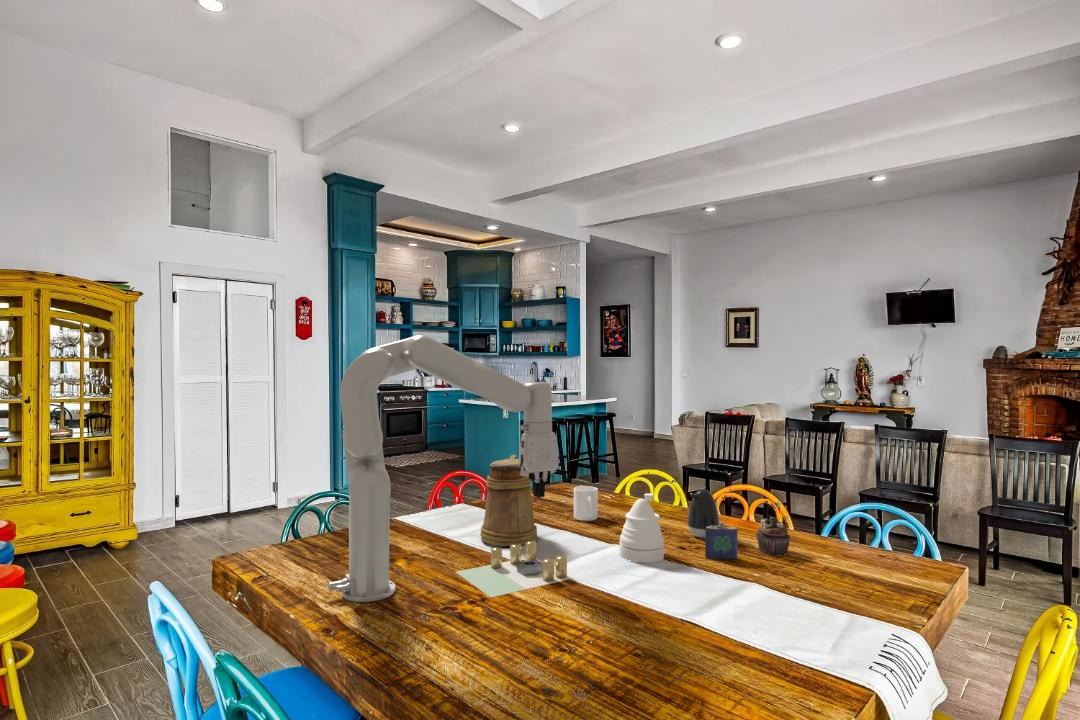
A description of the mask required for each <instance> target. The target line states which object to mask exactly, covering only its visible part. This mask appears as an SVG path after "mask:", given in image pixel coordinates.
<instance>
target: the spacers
mask: <svg viewBox="0 0 1080 720" xmlns="http://www.w3.org/2000/svg"><path fill="white" fill-rule="evenodd" d="M536 541H537V540H536ZM536 541H527V542H526V544H525V558H526V559H537V542H536ZM521 559H522V545H521V544H511V545H510V546H509V561H510V564H511V565H517V563H518V562H520V561H521ZM502 562H503V547H501V546H500V547H499V546H495V547H494V546H493V547H491V548H490V565H491V568H492V569H500V568H502ZM542 562H543V576H542V580H543V581H546V582H551V581H554V568H555V577H556V578H559V579H564V578H566V577H567V575H568V557H567V556H566V555H556V556H555V559H553V558H549V557H546V558H543V559H542Z"/></svg>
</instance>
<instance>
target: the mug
mask: <svg viewBox="0 0 1080 720" xmlns="http://www.w3.org/2000/svg"><path fill="white" fill-rule="evenodd" d="M598 500H599V489H598V487H595V486H591V485H590V486H589V485H579V486H575V487H573V518H574V519H575V520H577V521H582V522H591V521H595V520H597V519H598V516H599V512H598V511H599V509H598V508H599V506H598V505H599V501H598Z"/></svg>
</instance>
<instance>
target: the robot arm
mask: <svg viewBox="0 0 1080 720" xmlns="http://www.w3.org/2000/svg"><path fill="white" fill-rule="evenodd" d="M414 370H419V371H421V372H423V373H424V374H428V375H429V376H431V377H434V378H435V379H438V380H440V381H442V382H444V383H446V384H447V385H450V386H451V387H454V388H456V389H459V390H462V391H463V392H465V393H466V392H467V393H470V394H473V395H476V396H479V397H481V398H483V399H486V400H487V401H490V402H492V403H494V404H495V405H496V406H497V407H498V408H500V409H502V410H506V411H507V412H508V411H509V412H512V413H521V412H523V424H521V425H520V426H519V428H520V429H519V430H520V431H523V433H521V436H520V437H521V438H520V443H519V444H520V445H519V452H518V453H519V455H518V457H519V458H518V459H519V465H520V469H521V472H520V475H521V476H524V477H528V478H529V479H530V480H531V487H532V488H531V489H532V491H531V492H532V494H533V495H532V496H533V497H536V498H544V497H545V493H546V482H547V480H548V478H549V476H550V475H552V474H555V473H556V472H557V469H558V468H559V463H560V462H559V461H560V460H559V449H558V443H557V441H558V440H557V437H556V433H555V432H554V431H553V428H552V427H553V412H552V411H553V410H552V408H553V407H552V406H553V405H552V398H553V397H552V386H551V384H550V383H549V382H546V381H530V382H526V383H524V382H523V383H522V382H519V380H518V381H517V380H516V379H514V378H512V377H510V376H507V375H506V374H504V373H502V372H500V371H497V370H496V369H493V368H491V367H489V366H487V365H485V364H483V363H482V362H480V361H478V360H476V359H474V358H472V357H469V356H467V355H465V354H464V353H462V352H459V351H457V350H456V349H453V348H452V347H450V346H447V345H446V344H444V343H442V342H440V341H438V340H436V339H435V338H432V337H430V336H427V335H424V334H423V335H422V334H419V335H414V336H410V337H408V338H405V339H401V340H398V341H394V342H391V343H387V344H383V345H379V346H376V347H371V348H368V349H366V350H364V351H363V352H362V353H361V354H360V355H359V356H358V357H356V358H355V359H354V360H352V361H351V363H350V364H349V366H348V367H347V369H346V370H345V372H344V374H343V376H342V379H341V383H340V392H339V393H340V395H339V396H340V408H341V417H342V424H343V431H342V442H343V449H344V458H345V465H346V472H347V479H348V496H349V497H348V501H349V502H348V505H349V506H348V573H346V574H345V575H344V576H345V578H342V579H341V580H338V581H337V580H336V581H331V582H330V581H329V582H328V585H327V586H328V591H329V592H331V591H336V592H337V593H339V592H342V593H341V595H342V598H344V599H345V600H346V601H349V602H353V603H356V602H357V603H369V602H371V603H372V602H377V601H381V600H385V599H386V598H389V597H390V596H392V595H393V594H394V593H395V592H396V589H397V588H396V584H395V582H393V581H392V580H390V509H391V507H390V505H391V488H392V487H391V479H390V475H389V473H388V470H387V469H386V464H385V457H384V449H383V443H384V434H383V430H382V427H381V422H380V415H379V406H378V405H379V404H378V396H377V395H378V394H377V393H378V389H379V387H380V385H381V383H382V382H384V381H386V380H387V379H389V378H391V377H395V376H397V375H400V374H404V373H407V372H410V371H414ZM527 471H528V472H527Z"/></svg>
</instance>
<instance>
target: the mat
mask: <svg viewBox="0 0 1080 720" xmlns="http://www.w3.org/2000/svg"><path fill="white" fill-rule="evenodd" d="M523 559H526V557H521V560H523ZM536 560H538V561H540V562H542V563H543V560H540V559H538V558H536ZM455 574H457V575H459V576H460V577H461V578H463V579H464V580H466V581H467V582H469V583H470V584H471V585H472V586H474V587H475V588H477V589H478V590H480V591H481V592H482V593H483V594H485V595H486V596H488V597H489V598H495V597H499V596H504V595H508V594H512V593H516V592H521V591H525V590H529V589H532V588H533V589H534V588H538V587H542V586H546V585H551V584H555V583H559V582H562V581H563V582H564V581H568V580H572V579H573V577H572V576H570V575H568V574H567V577H566V578H564V579H559V578H556V577H555V567H554V581H551V582H546V581H543V580H542V576H543V571H542V572H541V573H540V574H538V575H530V576H523V575H522V574H520V573H518V572H517V565H511V564H510V560H507V561H502V568H500V569H492V568H491V564H488V565H484V566H483V565H482V566H479V567H473V568H468V569H463V570H459V571H458V570H457V571H455Z"/></svg>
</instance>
